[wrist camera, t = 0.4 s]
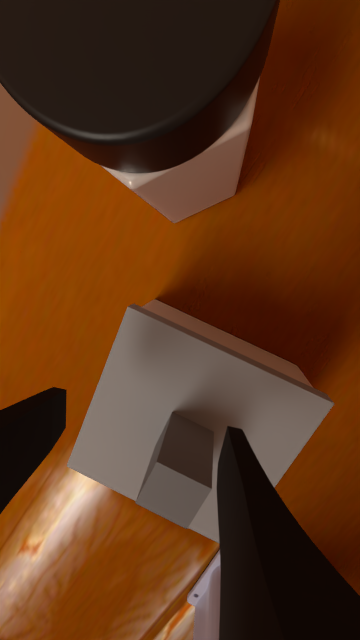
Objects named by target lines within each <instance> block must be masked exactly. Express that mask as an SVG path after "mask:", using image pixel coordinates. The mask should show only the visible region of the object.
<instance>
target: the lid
mask: <svg viewBox="0 0 360 640" xmlns="http://www.w3.org/2000/svg"><path fill="white" fill-rule="evenodd" d="M333 405H334V403H333V401H332V400H331V399H330V397H329V396H328V395H327V394H325V393H323V392H321V391H319V390H317V389H315V388H313V387H310V386H308V385H306V384H304V383H302V382H300V381H298V380H295V379H293V378H291V377H289V376H287V375H285V374H283V373H281V372H278V371H276V370H274V369H272V368H270V367H268V366H266V365H264V364H261V363H259V362H257V361H255V360H253V359H251V358H249V357H246V356H244V355H242V354H240V353H238V352H236V351H234V350H232V349H229V348H227V347H225V346H223V345H221V344H219V343H217V342H214V341H212V340H210V339H208V338H206V337H204V336H202V335H200V334H197V333H195V332H193V331H191V330H189V329H187V328H185V327H183V326H180V325H178V324H176V323H174V322H172V321H170V320H168V319H165V318H163V317H161V316H159V315H157V314H155V313H153V312H151V311H148V310H146V309H144V308H142V307H140V306H138V305H136V304H132V305H130V306H128V308H127V310H126V313H125V315H124V318H123V321H122V323H121V326H120V328H119V331H118V334H117V336H116V339H115V341H114V344H113V347H112V349H111V352H110V355H109V357H108V360H107V362H106V365H105V368H104V370H103V373H102V375H101V378H100V381H99V383H98V386H97V388H96V391H95V394H94V396H93V399H92V401H91V404H90V407H89V409H88V412H87V414H86V417H85V420H84V422H83V425H82V427H81V430H80V433H79V435H78V438H77V440H76V443H75V446H74V448H73V451H72V454H71V456H70V459H69V461H68V464H67V467H69V468H71V469H73V470H75V471H77V472H79V473H81V474H83V475H85V476H87V477H89V478H91V479H93V480H95V481H97V482H99V483H101V484H103V485H105V486H107V487H109V488H111V489H113V490H115V491H117V492H119V493H121V494H123V495H125V496H127V497H129V498H131V499H133V500H135V501H136V502H135V503H136V504H138V505H140V506H142V507H144V508H146V509H148V510H150V511H152V512H154V513H156V514H158V515H160V516H162V517H164V518H166V519H168V520H170V521H172V522H174V523H176V524H178V525H180V526H182V527H184V528H186V529H187V528H190V529H192V530H194V531H196V532H198V533H200V534H202V535H204V536H206V537H208V538H210V539H212V540H214V541H216V542H218V543H219V526H218V508H217V468H218V461H219V457H220V453H221V449H222V445H223V441H224V437H225V433H226V429H227V426H231V427H235V428H240V429H242V430H243V431H244V433H245V435H246V437H247V439H248V441H249V444H250V446H251V447H252V449H253V451H254V453H255V455H256V457H257V459H258V461H259V463H260V464H261V466H262V468H263V470H264V471H265V473H266V475H267V477H268V478H269V480H270V482H271V483H272V485H273V487H275V486H276V484H277V483H278V482H279V480H280V479H281V477H282V476H283V475H284V473H285V472H286V470H287V469H288V468H289V466H290V465H291V463H292V462H293V461H294V459H295V458H296V457H297V455H298V454H299V452H300V451H301V450H302V448H303V447H304V445H305V444H306V443H307V441H308V440H309V438H310V437H311V436H312V434H313V433H314V431H315V430H316V429H317V427H318V426H319V424H320V423H321V422H322V420H323V419H324V417H325V416H326V415H327V413H328V412H329V410H330V409H331V408H332V406H333Z"/></svg>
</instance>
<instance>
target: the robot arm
mask: <svg viewBox="0 0 360 640" xmlns="http://www.w3.org/2000/svg"><path fill="white" fill-rule="evenodd" d="M65 428H66V390H65V389H60V388H56V387H53V388H50V389H47V390H45V391H43V392H40V393H38V394H36V395H34V396H31V397H29V398H27V399H25V400H23V401H20V402H18V403H16V404H14V405H11V406H9V407H7V408H5V409H2V410H0V514H1V512H2V511H3V510H4V508H5V507H6V506H7V505H8V503H9V502H10V501H11V499H12V498H13V497H14V496H15V494H16V493H17V492H18V491H19V489H20V488H21V487H22V486H23V485H24V483H25V482H26V481H27V480H28V478H29V477H30V476H31V475H32V473H33V472H34V471H35V470H36V469H37V467H38V466H39V465H40V464H41V462H42V461H43V460H44V459H45V457H46V456H47V455H48V454H49V452H50V451H51V450H52V448H53V447H54V445H55V444H56V442H57V441H58V439H59V438H60V436H61V434H62V433H63V431H64V429H65ZM217 508H218V526H219V543H220V550H219V551H218V553H217V554H216V555H215V557H214V558H213V560H212V561H211V563H210V564H209V565H208V567H207V568H206V570H205V571H204V573H203V574H202V575H201V577H200V578H199V580H198V581H197V583H196V584H195V585H194V587H193V588H192V590H191V591H190V593H189V594H188V597H187V601H188V603H190V604H191V605H193V606H195V619H194V633H193V640H360V596H359V595H358V594H357V593H356V592H355V590H354V589H353V588H352V587H351V586H350V585H349V584H348V583H347V582H346V581H345V580H344V578H343V577H342V576H341V575H340V574H339V573H338V572H337V570H336V569H335V568H334V567H333V566H332V565H331V563H330V562H329V561H328V560H327V559H326V557H325V556H324V555H323V554H322V553H321V551H320V550H319V549H318V548H317V547H316V545H315V544H314V543H313V542H312V541H311V539H310V538H309V537H308V535H307V534H306V533H305V532H304V530H303V529H302V528H301V526H300V525H299V524H298V522H297V521H296V519H295V518H294V517H293V515H292V514H291V513H290V511H289V510H288V508H287V507H286V505H285V504H284V502H283V501H282V499H281V498H280V496H279V495H278V493H277V491H276V490H275V488H274V487H273V485H272V483H271V482H270V480H269V478H268V477H267V475H266V473H265V471H264V470H263V468H262V466H261V464H260V463H259V461H258V459H257V457H256V455H255V453H254V451H253V449H252V447H251V446H250V444H249V441H248V439H247V437H246V435H245V433H244V431H243V430H242V429H240V428H235V427H231V426H227V429H226V433H225V437H224V441H223V445H222V449H221V453H220V457H219V461H218V468H217Z"/></svg>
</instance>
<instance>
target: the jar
mask: <svg viewBox="0 0 360 640" xmlns="http://www.w3.org/2000/svg"><path fill="white" fill-rule="evenodd" d="M279 3H280V0H0V83H1V84H2V86H3V87H4V88H5V89H6V91H7V92H8V93H9V94H10V95H11V97H12V98H13V99H14V100H15V101H16V102H17V103H18V104H19V105H20V106H21V107H22V108H23V109H24V110H25V111H26V112H27V113H28V114H29V115H31V116H32V117H33V118H34V119H35V120H37V121H38V122H39V123H41V124H42V125H43V126H45V127H46V128H47V129H49V130H50V131H51V132H53V133H54V134H55V135H56V136H58V137H59V138H60V139H62V140H63V141H64V142H66V143H67V144H68V145H70V146H71V147H72V148H74V149H75V150H76V151H78V152H79V153H80V154H82V155H83V156H84V157H86V158H88V159H89V160H91V161H93V162H95V163H97V164H99V165H101V166H102V167H103V168H104V169H106V170H107V171H108V172H109V173H111V174H112V175H113V176H114V177H116V178H117V179H118V180H119V181H121V182H122V183H123V184H124V185H126V186H127V187H128V188H129V189H131V190H132V191H133V192H135V193H136V194H137V195H138V196H140V197H141V198H142V199H143V200H145V201H146V202H147V203H149V204H150V205H151V206H152V207H154V208H155V209H156V210H157V211H159V212H160V213H161V214H163V215H164V216H165V217H166V218H168V219H169V220H170V221H171V222H173V223H177V222H179V221H181V220H183V219H185V218H187V217H189V216H191V215H193V214H195V213H198V212H200V211H202V210H204V209H206V208H208V207H210V206H212V205H215V204H217V203H219V202H221V201H223V200H225V199H227V198H230V197H232V196H234V195H235V193H236V190H237V185H238V181H239V177H240V172H241V168H242V164H243V160H244V155H245V151H246V147H247V143H248V138H249V134H250V130H251V126H252V121H253V115H254V109H255V103H256V98H257V92H258V86H259V80H260V75H261V72H262V69H263V67H264V64H265V60H266V57H267V54H268V50H269V46H270V42H271V37H272V33H273V29H274V24H275V20H276V16H277V11H278V7H279Z"/></svg>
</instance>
